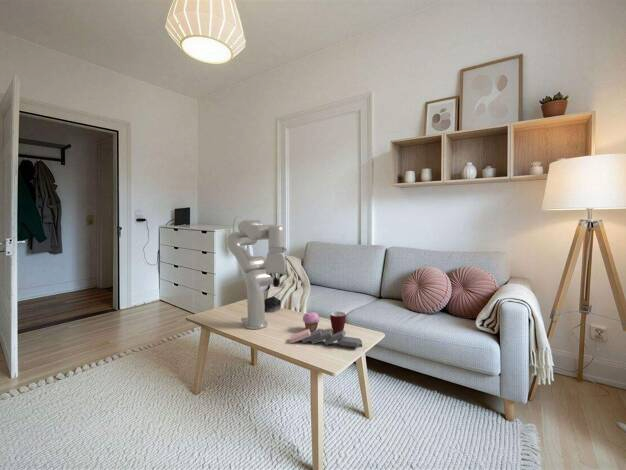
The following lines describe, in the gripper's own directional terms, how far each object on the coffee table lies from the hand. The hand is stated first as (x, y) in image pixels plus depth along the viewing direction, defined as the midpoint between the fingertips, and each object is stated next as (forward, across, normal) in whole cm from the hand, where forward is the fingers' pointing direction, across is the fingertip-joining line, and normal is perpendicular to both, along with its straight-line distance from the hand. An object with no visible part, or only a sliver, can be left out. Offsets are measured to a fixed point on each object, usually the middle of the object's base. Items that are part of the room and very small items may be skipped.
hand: (276, 286), depth 154 cm
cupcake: (+27, -16, -12) cm, 34 cm away
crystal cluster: (+28, +15, -45) cm, 55 cm away
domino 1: (+26, -14, +3) cm, 29 cm away
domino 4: (+24, -32, +5) cm, 40 cm away
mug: (+27, -31, -12) cm, 43 cm away
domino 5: (+26, -33, +4) cm, 42 cm away
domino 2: (+26, -18, +3) cm, 32 cm away
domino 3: (+26, -26, +4) cm, 37 cm away
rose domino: (+26, -8, +3) cm, 27 cm away
